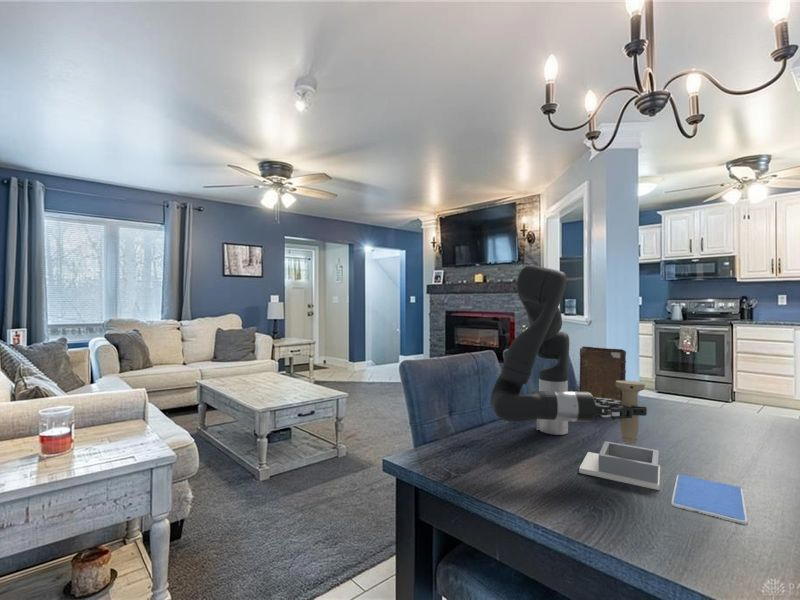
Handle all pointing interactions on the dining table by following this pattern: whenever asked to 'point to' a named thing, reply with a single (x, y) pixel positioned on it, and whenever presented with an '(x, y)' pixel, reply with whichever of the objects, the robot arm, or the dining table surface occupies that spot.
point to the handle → (630, 398)
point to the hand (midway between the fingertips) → (641, 408)
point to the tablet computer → (710, 498)
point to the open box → (624, 464)
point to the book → (602, 371)
